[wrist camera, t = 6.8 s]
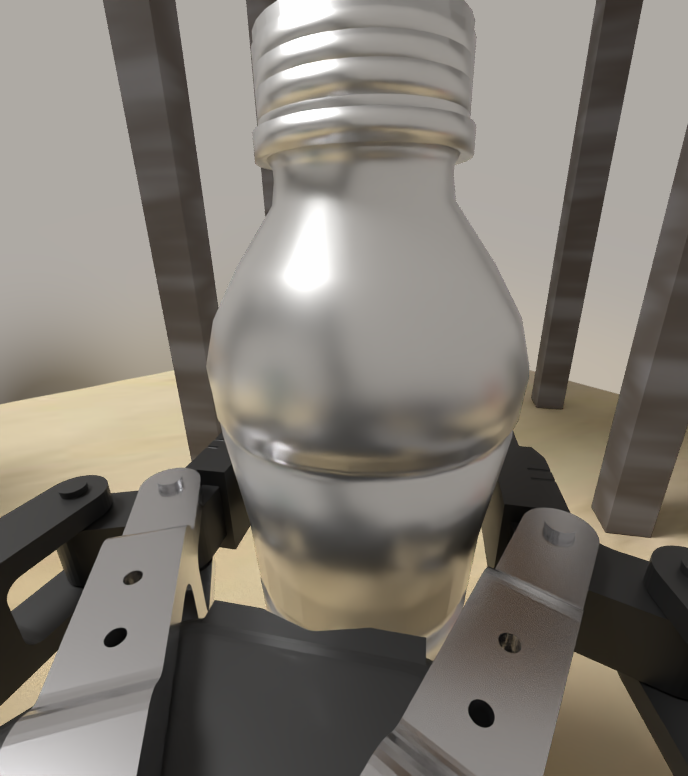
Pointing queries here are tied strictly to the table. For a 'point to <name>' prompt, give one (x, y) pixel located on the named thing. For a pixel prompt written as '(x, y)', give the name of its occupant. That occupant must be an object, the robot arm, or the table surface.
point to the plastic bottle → (366, 322)
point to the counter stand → (569, 274)
